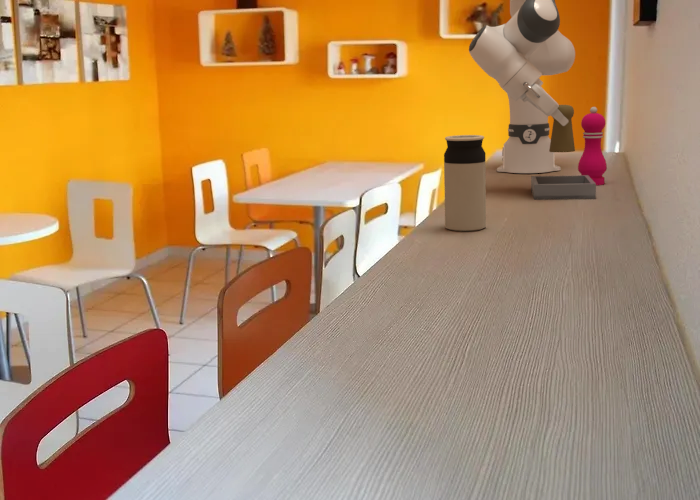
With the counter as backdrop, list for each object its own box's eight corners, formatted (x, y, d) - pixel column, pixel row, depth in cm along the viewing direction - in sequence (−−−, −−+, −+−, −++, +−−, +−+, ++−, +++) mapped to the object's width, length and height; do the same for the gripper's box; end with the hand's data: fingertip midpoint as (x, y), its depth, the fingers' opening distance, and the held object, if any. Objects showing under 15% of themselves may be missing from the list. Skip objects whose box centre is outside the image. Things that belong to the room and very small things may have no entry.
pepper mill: (603, 181, 216) (605, 105, 212) (608, 185, 209) (611, 106, 205) (575, 182, 217) (576, 106, 213) (580, 186, 210) (581, 107, 206)
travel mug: (488, 231, 157) (488, 137, 153) (447, 232, 157) (445, 138, 153) (482, 223, 164) (482, 134, 160) (443, 225, 165) (441, 135, 161)
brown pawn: (575, 152, 192) (576, 105, 190) (549, 152, 194) (550, 105, 191) (574, 149, 198) (575, 103, 196) (548, 150, 199) (549, 104, 197)
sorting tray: (531, 189, 207) (531, 176, 206) (587, 189, 205) (588, 175, 204) (534, 199, 192) (534, 184, 191) (595, 198, 189) (596, 183, 188)
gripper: (535, 73, 183) (579, 115, 184) (531, 72, 203) (570, 110, 203) (515, 94, 185) (558, 136, 185) (513, 91, 205) (552, 129, 205)
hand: (565, 122), depth 194 cm, fingers closed on brown pawn, 5 cm apart
